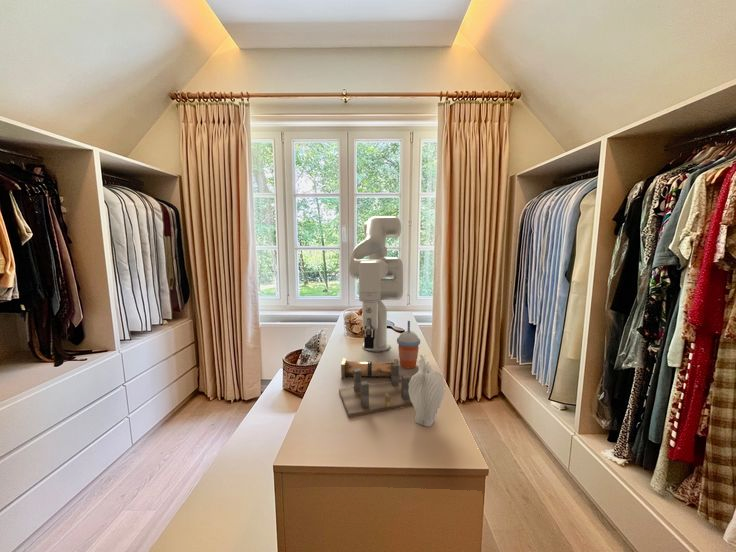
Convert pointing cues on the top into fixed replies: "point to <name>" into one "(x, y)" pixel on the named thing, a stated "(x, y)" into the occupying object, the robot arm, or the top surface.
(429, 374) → the shell sculpture
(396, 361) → the copper tube
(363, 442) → the top surface
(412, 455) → the top surface
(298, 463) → the top surface
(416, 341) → the cup with straw
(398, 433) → the top surface
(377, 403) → the collar board
